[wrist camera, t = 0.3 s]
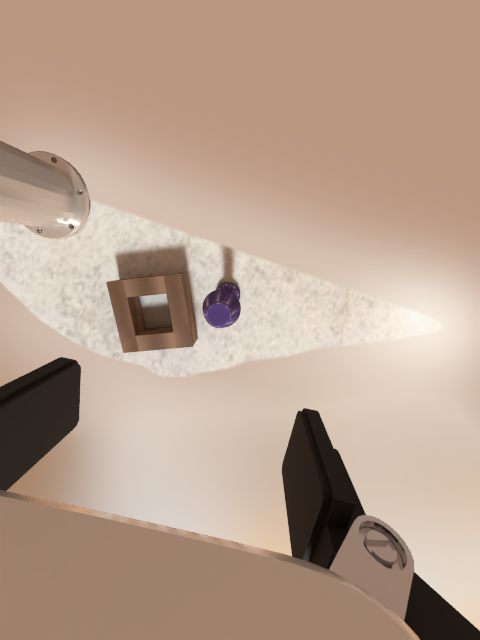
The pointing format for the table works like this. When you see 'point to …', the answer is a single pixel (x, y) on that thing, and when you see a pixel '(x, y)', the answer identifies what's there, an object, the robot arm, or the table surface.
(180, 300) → the socket block
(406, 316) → the table surface
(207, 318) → the toy lamp
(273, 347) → the table surface
